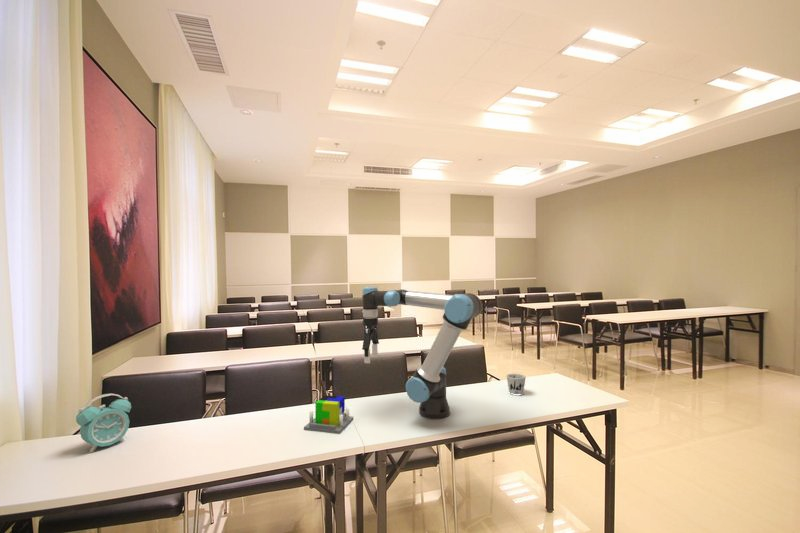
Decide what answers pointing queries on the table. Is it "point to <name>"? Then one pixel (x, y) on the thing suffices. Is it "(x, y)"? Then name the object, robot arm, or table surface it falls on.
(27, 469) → the table surface
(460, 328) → the robot arm
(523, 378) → the mug
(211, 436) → the table surface
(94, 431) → the alarm clock
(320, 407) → the puzzle toy
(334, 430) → the tray
